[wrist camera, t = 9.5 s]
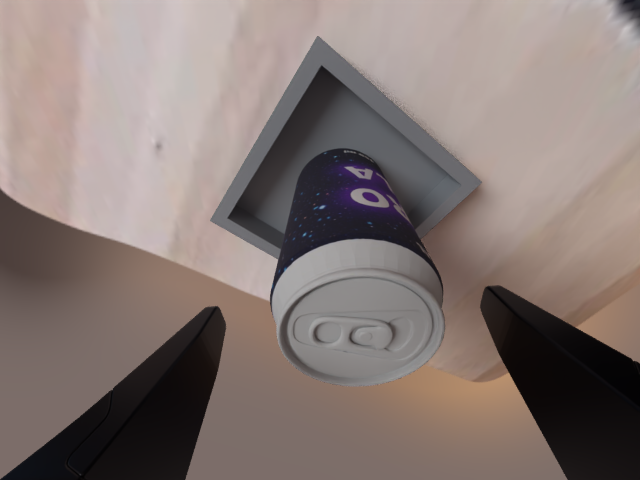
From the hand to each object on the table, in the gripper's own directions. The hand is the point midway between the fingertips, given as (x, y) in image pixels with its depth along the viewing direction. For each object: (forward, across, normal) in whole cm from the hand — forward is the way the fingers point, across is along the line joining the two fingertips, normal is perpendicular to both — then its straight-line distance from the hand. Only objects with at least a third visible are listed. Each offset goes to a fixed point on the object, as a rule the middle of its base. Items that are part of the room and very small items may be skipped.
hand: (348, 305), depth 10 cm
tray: (+12, 0, 0) cm, 12 cm away
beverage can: (+11, 0, 0) cm, 11 cm away
